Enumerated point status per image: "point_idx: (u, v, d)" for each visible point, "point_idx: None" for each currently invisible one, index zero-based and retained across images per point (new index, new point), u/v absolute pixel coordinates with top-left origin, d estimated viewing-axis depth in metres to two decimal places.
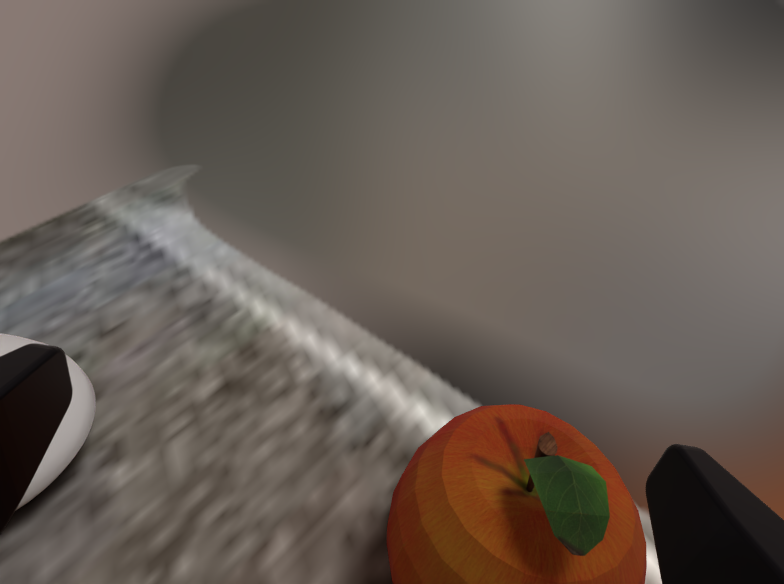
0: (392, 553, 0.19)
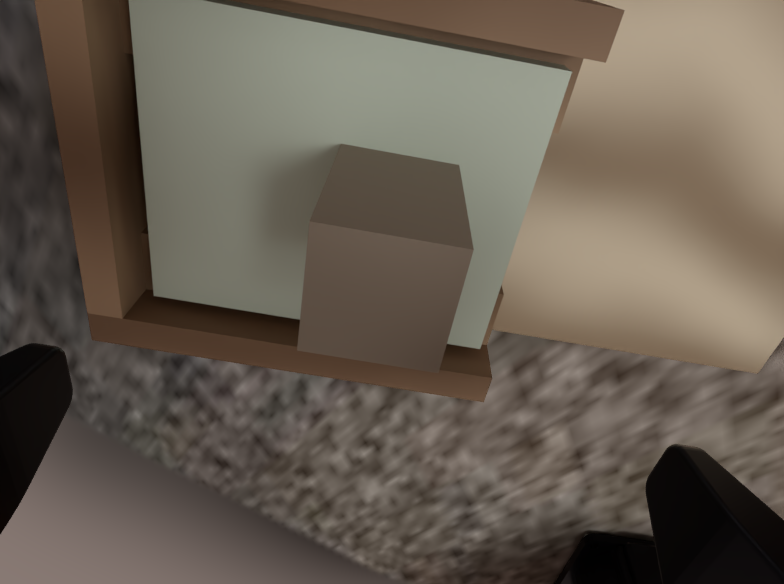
0: None
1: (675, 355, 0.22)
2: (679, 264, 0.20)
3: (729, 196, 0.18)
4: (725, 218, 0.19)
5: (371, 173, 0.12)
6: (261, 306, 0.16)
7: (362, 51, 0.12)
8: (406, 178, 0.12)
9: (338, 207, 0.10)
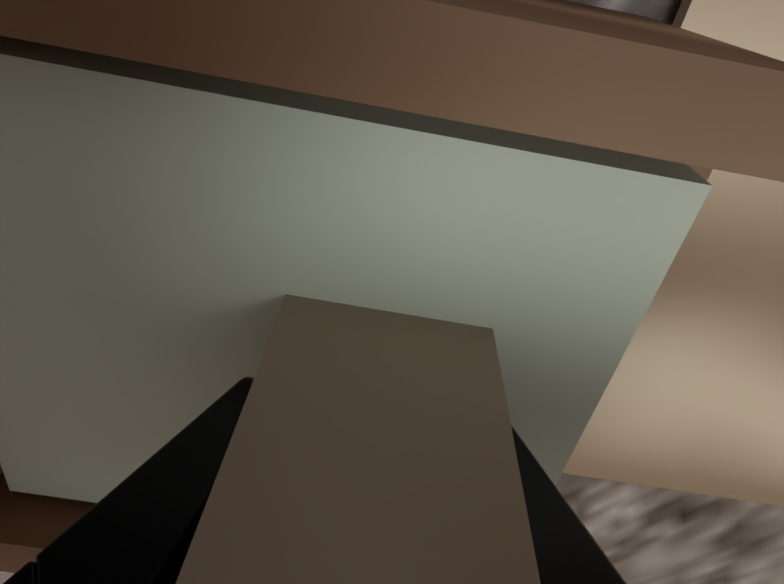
0: None
1: (765, 498, 0.16)
2: None
3: None
4: None
5: (334, 382, 0.06)
6: None
7: (317, 147, 0.06)
8: (401, 389, 0.06)
9: (244, 542, 0.05)
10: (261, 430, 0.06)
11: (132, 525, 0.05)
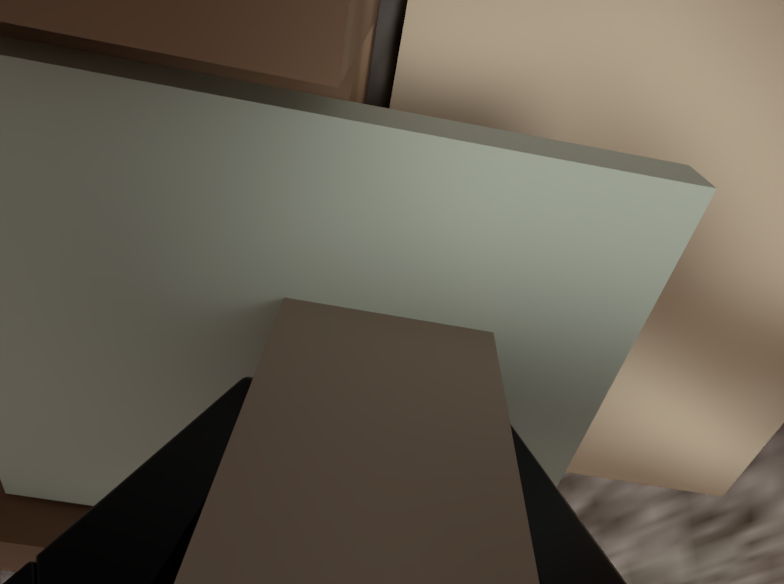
0: None
1: (609, 473, 0.16)
2: None
3: (673, 273, 0.12)
4: (669, 303, 0.13)
5: (331, 388, 0.06)
6: None
7: (315, 149, 0.06)
8: (400, 395, 0.06)
9: (239, 554, 0.04)
10: (257, 437, 0.05)
11: (132, 525, 0.05)
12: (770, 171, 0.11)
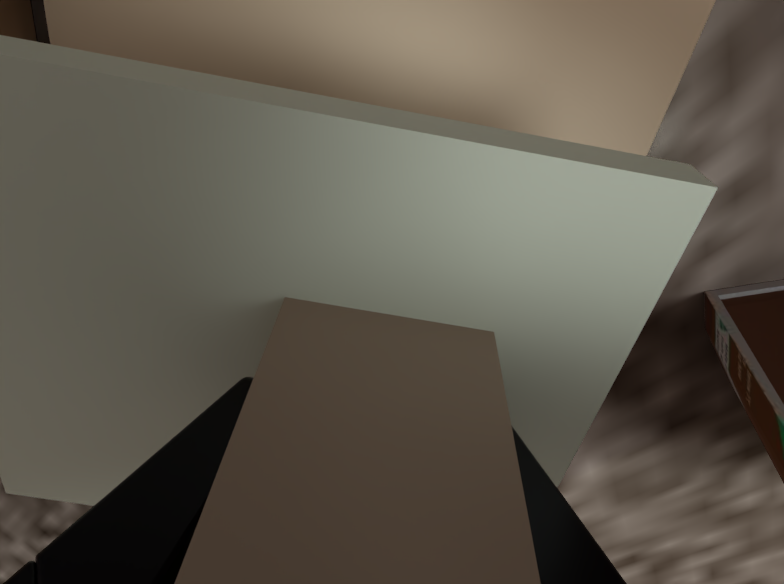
0: None
1: None
2: None
3: None
4: None
5: (332, 387, 0.06)
6: None
7: (316, 148, 0.06)
8: (400, 394, 0.06)
9: (240, 553, 0.04)
10: (258, 437, 0.05)
11: (132, 525, 0.05)
12: (448, 111, 0.11)
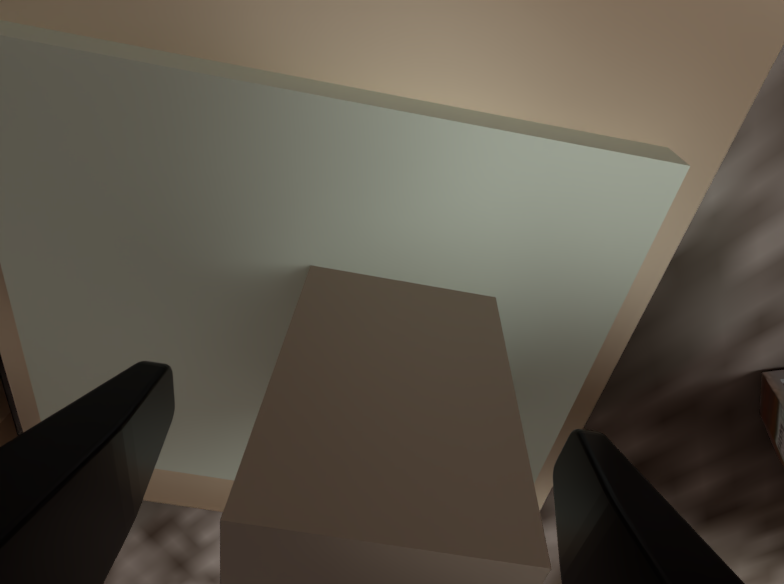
0: None
1: None
2: None
3: None
4: None
5: (356, 336, 0.07)
6: (203, 468, 0.11)
7: (341, 131, 0.07)
8: (415, 344, 0.07)
9: (287, 456, 0.05)
10: (295, 373, 0.06)
11: None
12: None
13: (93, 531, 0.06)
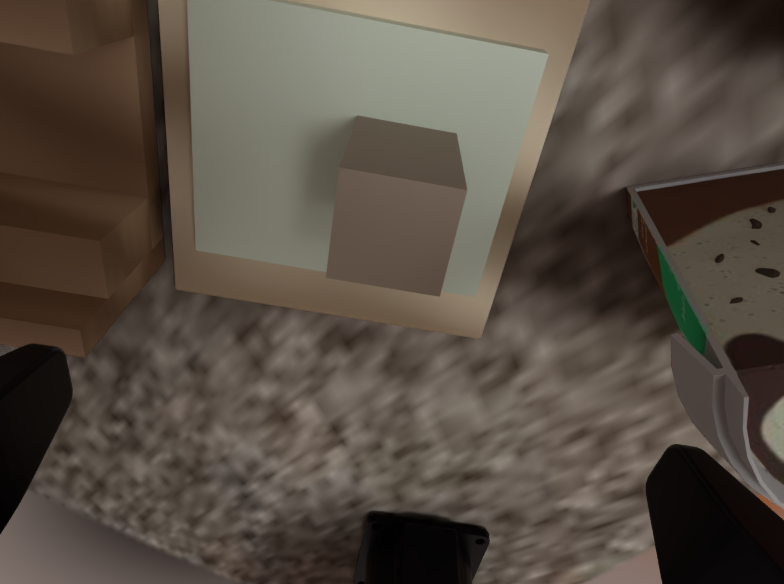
0: None
1: (389, 319, 0.21)
2: None
3: None
4: None
5: (384, 136, 0.15)
6: (287, 259, 0.19)
7: (377, 37, 0.15)
8: (414, 141, 0.15)
9: (360, 159, 0.13)
10: (358, 142, 0.14)
11: None
12: None
13: None
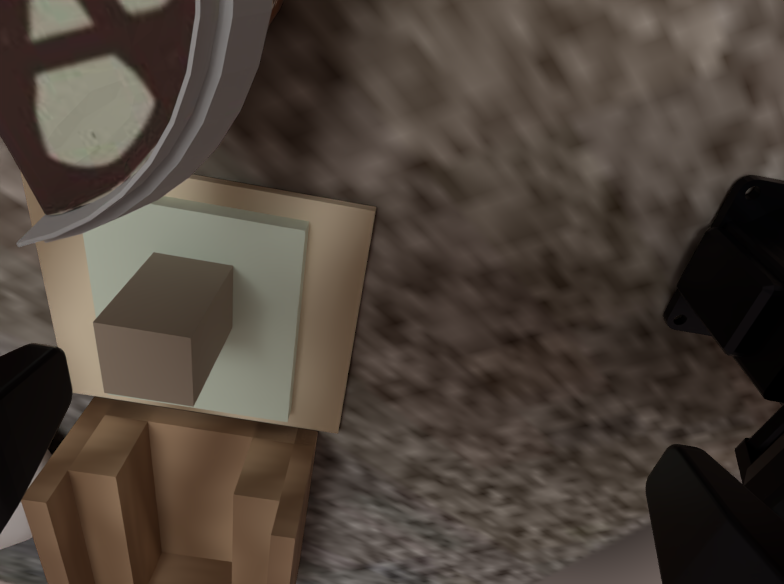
0: None
1: (355, 292, 0.22)
2: None
3: None
4: None
5: None
6: (286, 369, 0.23)
7: (103, 302, 0.22)
8: None
9: None
10: None
11: None
12: None
13: None
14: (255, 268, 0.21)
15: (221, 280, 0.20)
